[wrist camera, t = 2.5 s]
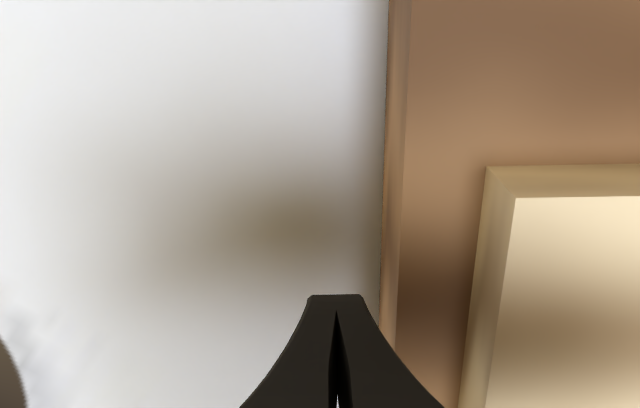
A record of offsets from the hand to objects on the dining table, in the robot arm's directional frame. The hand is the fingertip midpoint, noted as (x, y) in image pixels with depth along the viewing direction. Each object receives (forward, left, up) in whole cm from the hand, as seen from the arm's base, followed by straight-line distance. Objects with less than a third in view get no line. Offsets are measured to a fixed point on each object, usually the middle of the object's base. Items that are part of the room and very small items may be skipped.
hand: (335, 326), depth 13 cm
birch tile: (0, -7, -1) cm, 7 cm away
